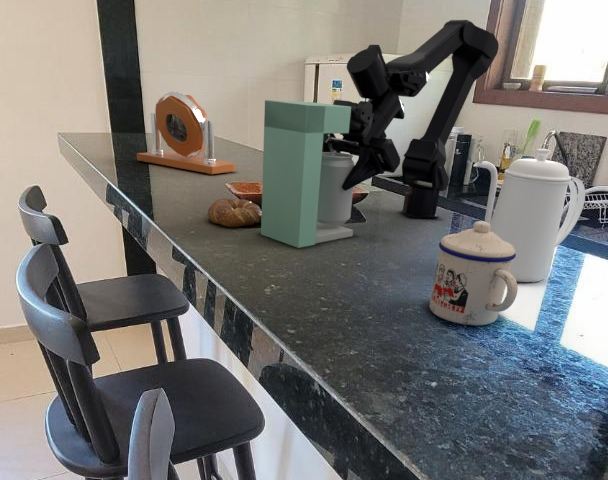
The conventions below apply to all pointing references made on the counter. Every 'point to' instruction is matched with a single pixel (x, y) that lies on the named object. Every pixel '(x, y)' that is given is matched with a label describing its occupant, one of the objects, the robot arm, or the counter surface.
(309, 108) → the coffee maker
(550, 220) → the coffeepot
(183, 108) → the desk clock
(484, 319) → the teacup with lid
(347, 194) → the can
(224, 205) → the pretzel
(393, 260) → the counter surface
